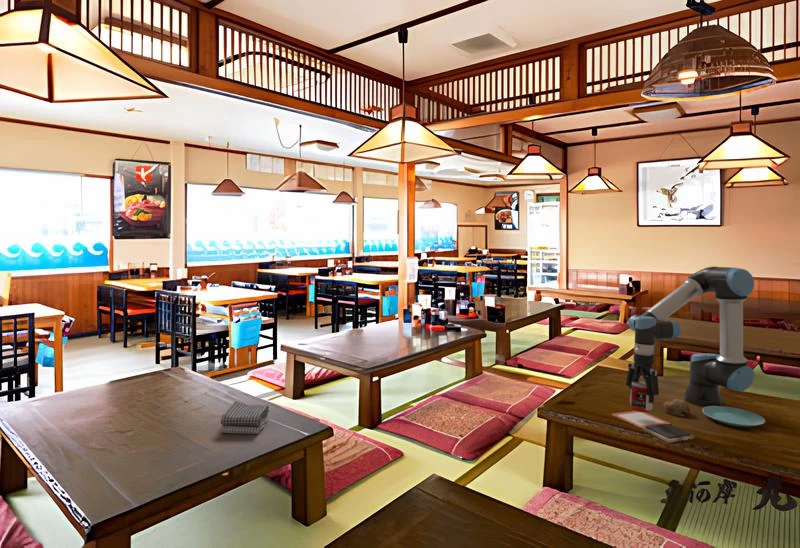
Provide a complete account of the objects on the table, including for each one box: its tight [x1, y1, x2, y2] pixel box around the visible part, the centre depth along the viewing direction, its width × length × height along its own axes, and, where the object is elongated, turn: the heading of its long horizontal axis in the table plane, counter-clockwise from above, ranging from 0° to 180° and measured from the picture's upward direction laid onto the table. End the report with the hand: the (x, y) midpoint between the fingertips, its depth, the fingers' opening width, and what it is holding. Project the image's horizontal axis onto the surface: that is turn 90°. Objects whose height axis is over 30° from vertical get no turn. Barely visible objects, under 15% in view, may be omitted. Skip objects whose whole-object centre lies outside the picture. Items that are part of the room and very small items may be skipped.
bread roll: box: [662, 398, 691, 417], centre depth 216 cm, size 10×10×8 cm
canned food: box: [630, 380, 651, 413], centre depth 206 cm, size 8×8×11 cm
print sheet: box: [610, 410, 672, 429], centre depth 206 cm, size 16×16×1 cm
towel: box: [220, 400, 270, 435], centre depth 191 cm, size 15×18×8 cm
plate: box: [701, 405, 766, 428], centre depth 207 cm, size 22×22×3 cm
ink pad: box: [641, 424, 696, 444], centre depth 191 cm, size 13×13×2 cm
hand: (640, 406), depth 206 cm, fingers closed on canned food, 8 cm apart
